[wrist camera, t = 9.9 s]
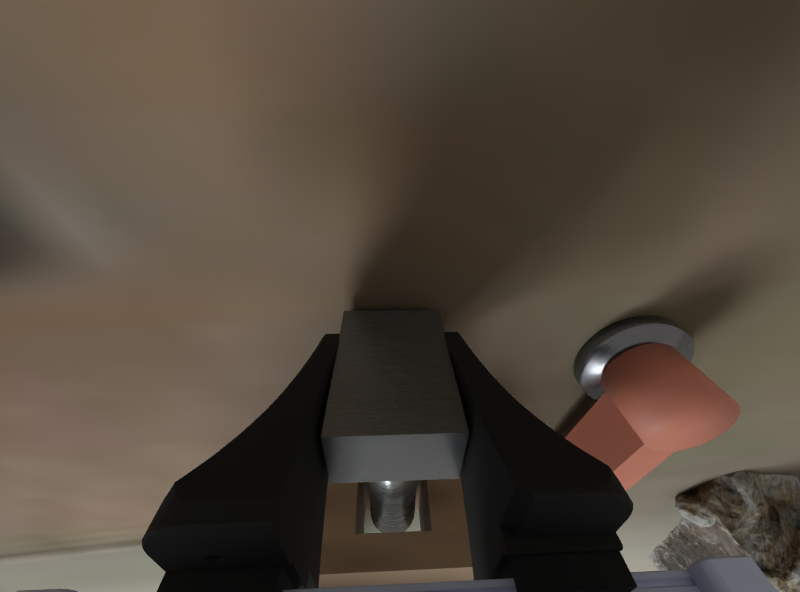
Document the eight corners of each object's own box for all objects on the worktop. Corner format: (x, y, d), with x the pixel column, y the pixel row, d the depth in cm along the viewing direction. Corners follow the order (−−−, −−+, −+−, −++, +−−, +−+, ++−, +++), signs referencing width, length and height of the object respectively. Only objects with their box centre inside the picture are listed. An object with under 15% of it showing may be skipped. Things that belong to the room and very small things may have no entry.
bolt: (423, 458, 20) (436, 578, 15) (359, 460, 19) (350, 583, 14) (438, 309, 13) (469, 432, 8) (344, 310, 13) (320, 437, 8)
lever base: (651, 389, 17) (662, 401, 17) (561, 392, 17) (568, 403, 17) (701, 314, 15) (716, 325, 14) (594, 316, 14) (604, 327, 14)
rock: (687, 485, 23) (912, 683, 15) (770, 422, 26) (993, 563, 18) (610, 557, 33) (720, 695, 26) (675, 507, 36) (791, 618, 29)
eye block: (447, 483, 22) (468, 607, 17) (334, 487, 22) (317, 616, 16) (457, 432, 19) (486, 566, 14) (324, 436, 19) (299, 575, 13)
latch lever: (696, 349, 14) (761, 403, 12) (576, 468, 20) (604, 523, 17) (630, 337, 14) (685, 390, 11) (525, 464, 19) (546, 519, 17)
